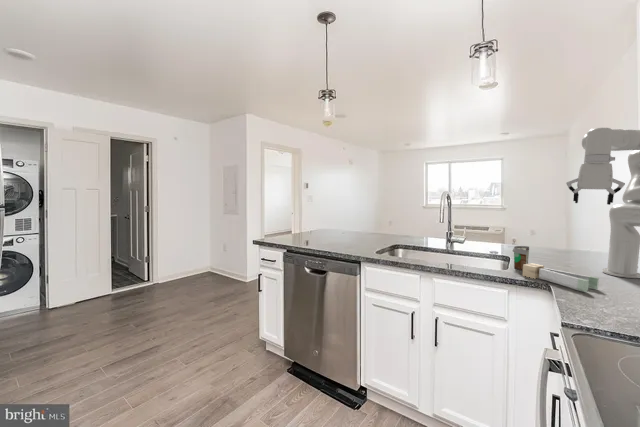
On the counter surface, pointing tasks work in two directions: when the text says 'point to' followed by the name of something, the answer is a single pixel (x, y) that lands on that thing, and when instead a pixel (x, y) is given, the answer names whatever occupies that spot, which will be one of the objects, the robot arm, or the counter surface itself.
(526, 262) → the food container
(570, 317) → the counter surface
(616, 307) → the counter surface
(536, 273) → the hinge block
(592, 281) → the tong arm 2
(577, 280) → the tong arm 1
